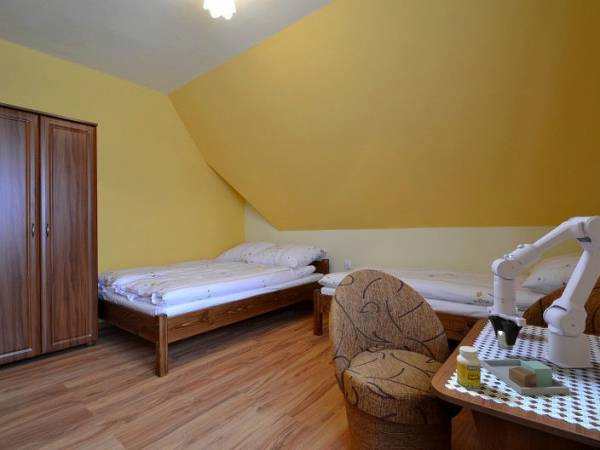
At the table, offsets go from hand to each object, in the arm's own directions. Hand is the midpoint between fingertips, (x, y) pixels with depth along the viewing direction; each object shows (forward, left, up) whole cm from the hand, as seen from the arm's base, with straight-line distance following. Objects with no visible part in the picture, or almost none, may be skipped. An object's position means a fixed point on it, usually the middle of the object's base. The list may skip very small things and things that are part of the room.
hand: (505, 342), depth 96 cm
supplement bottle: (+21, +16, -5) cm, 27 cm away
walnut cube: (+9, +18, -4) cm, 20 cm away
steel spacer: (0, 0, -2) cm, 2 cm away
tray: (+6, +13, -5) cm, 15 cm away
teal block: (+3, +16, -4) cm, 17 cm away
